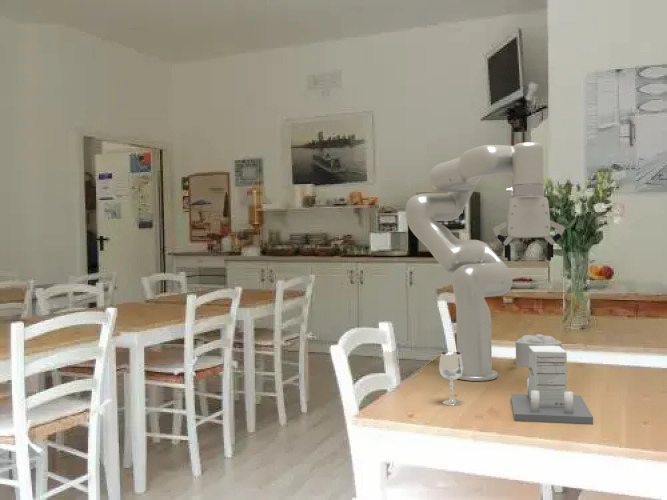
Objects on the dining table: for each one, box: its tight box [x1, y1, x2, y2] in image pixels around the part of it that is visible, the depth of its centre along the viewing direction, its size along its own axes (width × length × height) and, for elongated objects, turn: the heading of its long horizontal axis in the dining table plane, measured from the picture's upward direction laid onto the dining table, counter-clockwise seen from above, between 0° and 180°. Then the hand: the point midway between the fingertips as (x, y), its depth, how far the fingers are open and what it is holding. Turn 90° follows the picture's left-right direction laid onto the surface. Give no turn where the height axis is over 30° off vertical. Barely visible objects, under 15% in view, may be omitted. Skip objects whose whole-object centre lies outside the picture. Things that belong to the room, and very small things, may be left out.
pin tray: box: [510, 377, 594, 425], centre depth 152 cm, size 16×18×6 cm
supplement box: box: [528, 346, 568, 407], centre depth 153 cm, size 7×7×13 cm
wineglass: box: [438, 350, 464, 406], centre depth 160 cm, size 6×6×12 cm
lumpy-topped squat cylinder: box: [515, 333, 563, 368], centre depth 202 cm, size 10×13×9 cm
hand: (528, 260), depth 168 cm, fingers open, 9 cm apart
